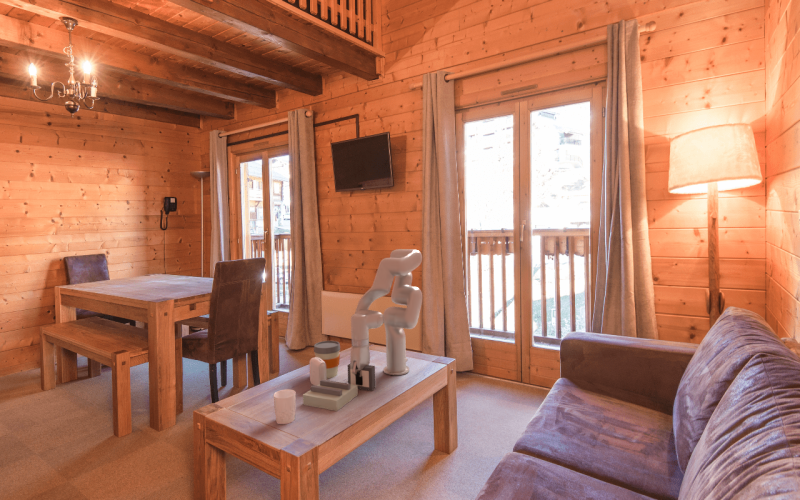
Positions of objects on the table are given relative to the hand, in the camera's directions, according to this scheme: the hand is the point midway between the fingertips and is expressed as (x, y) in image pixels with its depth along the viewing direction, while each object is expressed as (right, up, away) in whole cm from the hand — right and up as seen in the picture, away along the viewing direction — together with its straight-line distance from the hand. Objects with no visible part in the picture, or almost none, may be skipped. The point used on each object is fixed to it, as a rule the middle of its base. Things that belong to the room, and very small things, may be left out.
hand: (361, 382), depth 175 cm
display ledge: (-11, -3, -11) cm, 16 cm away
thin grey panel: (0, -2, 0) cm, 2 cm away
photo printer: (-20, -3, +5) cm, 21 cm away
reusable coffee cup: (-18, -2, +17) cm, 24 cm away
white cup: (-25, -5, -28) cm, 38 cm away
